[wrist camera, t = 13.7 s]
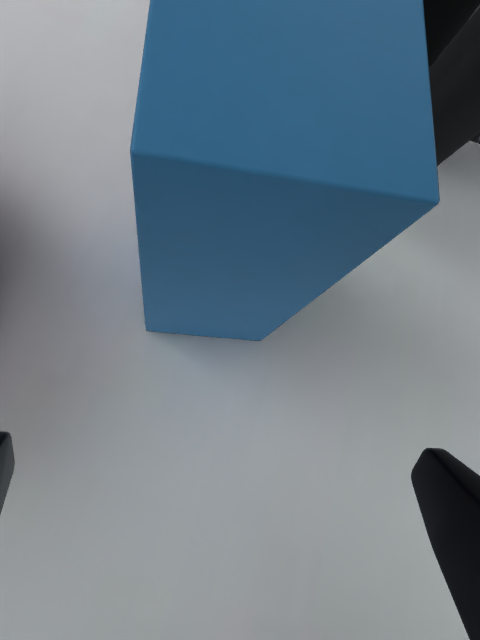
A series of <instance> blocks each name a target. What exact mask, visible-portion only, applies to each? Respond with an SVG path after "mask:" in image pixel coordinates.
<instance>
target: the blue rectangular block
mask: <svg viewBox="0 0 480 640" xmlns="http://www.w3.org/2000/svg"><path fill="white" fill-rule="evenodd" d="M130 155H131V167H132V178H133V190H134V201H135V212H136V224H137V235H138V247H139V258H140V270H141V281H142V292H143V304H144V315H145V327H146V330H147V331H154V332H166V333H177V334H188V335H199V336H210V337H221V338H232V339H243V340H255V341H261V340H262V339H263V338H265V337H266V336H267V335H269V334H270V333H271V332H272V331H274V330H275V329H276V328H278V327H279V326H280V325H282V324H283V323H284V322H285V321H287V320H288V319H289V318H291V317H292V316H293V315H295V314H296V313H297V312H298V311H300V310H301V309H302V308H304V307H305V306H306V305H308V304H309V303H310V302H311V301H313V300H314V299H315V298H317V297H318V296H319V295H321V294H322V293H323V292H325V291H326V290H327V289H328V288H330V287H331V286H332V285H334V284H335V283H336V282H338V281H339V280H340V279H341V278H343V277H344V276H345V275H347V274H348V273H349V272H351V271H352V270H353V269H354V268H356V267H357V266H358V265H360V264H361V263H362V262H364V261H365V260H366V259H367V258H369V257H370V256H371V255H373V254H374V253H375V252H377V251H378V250H379V249H380V248H382V247H383V246H384V245H386V244H387V243H388V242H390V241H391V240H392V239H393V238H395V237H396V236H397V235H399V234H400V233H401V232H403V231H404V230H405V229H406V228H408V227H409V226H410V225H412V224H413V223H414V222H416V221H417V220H418V219H420V218H421V217H422V216H423V215H425V214H426V213H427V212H429V211H430V210H431V209H433V208H434V207H435V206H436V205H438V203H439V201H440V197H439V185H438V173H437V161H436V149H435V137H434V125H433V113H432V102H431V90H430V78H429V66H428V54H427V42H426V30H425V18H424V6H423V0H150V6H149V13H148V20H147V28H146V35H145V43H144V50H143V58H142V65H141V72H140V80H139V87H138V95H137V102H136V109H135V117H134V124H133V132H132V139H131V146H130Z"/></svg>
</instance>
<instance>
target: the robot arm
mask: <svg viewBox="0 0 480 640" xmlns="http://www.w3.org/2000/svg"><path fill="white" fill-rule="evenodd" d="M14 463H15V461H14V453H13V446H12V439H11V435H10V433H8V432H0V514H1V511H2V507H3V504H4V501H5V497H6V494H7V491H8V488H9V484H10V481H11V478H12V474H13V471H14ZM411 480H412V484H413V487H414V491H415V494H416V497H417V500H418V504H419V507H420V510H421V513H422V517H423V520H424V523H425V527H426V530H427V533H428V536H429V539H430V542H431V545H432V548H433V551H434V553H435V556H436V558H437V561H438V563H439V566H440V568H441V571H442V573H443V575H444V578H445V580H446V583H447V585H448V588H449V590H450V593H451V595H452V597H453V600H454V602H455V605H456V607H457V610H458V612H459V615H460V617H461V619H462V622H463V624H464V627H465V629H466V632H467V634H468V637H469V639H470V640H480V476H479V475H478V474H476V473H475V472H474V471H473V470H471V469H470V468H469V467H467V466H466V465H465V464H463V463H462V462H461V461H459V460H458V459H457V458H455V457H454V456H453V455H451V454H450V453H449V452H447V451H446V450H444V449H440V448H426V449H425V450H424V451H423V452H422V454H421V455H420V457H419V459H418V461H417V463H416V464H415V466H414V468H413V470H412V473H411Z"/></svg>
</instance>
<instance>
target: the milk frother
mask: <svg viewBox="0 0 480 640" xmlns="http://www.w3.org/2000/svg"><path fill="white" fill-rule="evenodd" d="M423 6H424V18H425V30H426V42H427V54H428V66H429V78H430V90H431V102H432V113H433V125H434V137H435V149H436V161H437V166H438V165H439V164H440V163H441V162H442V161H444V160H445V159H446V158H448V157H449V156H450V155H452V154H453V153H454V152H455V151H456V150H458V149H459V148H460V147H462V146H463V145H464V144H465V143H467V142H468V141H469V140H471V141H473V142H476V143H479V144H480V0H423Z"/></svg>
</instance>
